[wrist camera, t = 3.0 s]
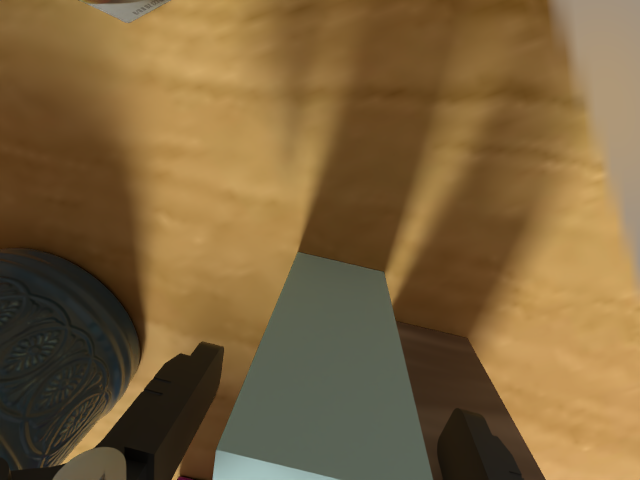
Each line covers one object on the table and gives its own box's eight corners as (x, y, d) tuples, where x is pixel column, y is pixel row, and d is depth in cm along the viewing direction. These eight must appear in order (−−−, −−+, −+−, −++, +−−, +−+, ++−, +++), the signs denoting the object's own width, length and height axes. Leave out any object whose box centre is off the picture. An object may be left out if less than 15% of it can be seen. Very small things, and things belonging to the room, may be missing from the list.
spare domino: (297, 251, 17) (216, 449, 6) (383, 272, 17) (438, 503, 6) (291, 281, 17) (210, 501, 7) (374, 301, 17) (409, 550, 7)
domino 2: (385, 318, 18) (434, 580, 8) (467, 338, 18) (628, 628, 7) (376, 344, 18) (409, 614, 8) (454, 363, 18) (585, 658, 8)
